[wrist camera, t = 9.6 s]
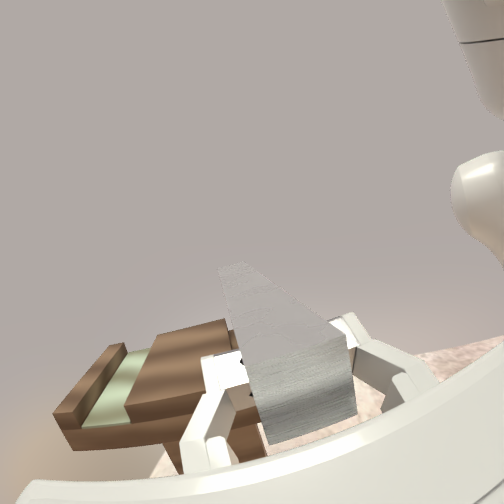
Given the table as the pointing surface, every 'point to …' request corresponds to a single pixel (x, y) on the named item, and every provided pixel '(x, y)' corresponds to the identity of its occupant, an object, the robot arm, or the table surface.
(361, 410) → the table surface
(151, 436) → the walnut pedestal
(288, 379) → the aluminium bar
